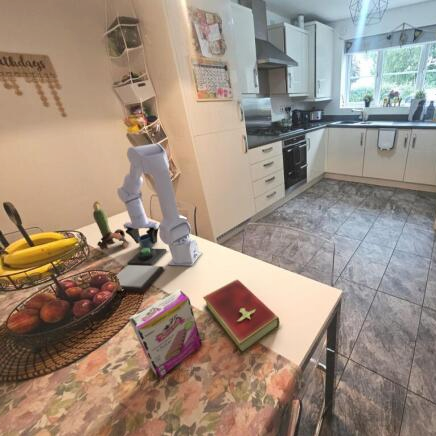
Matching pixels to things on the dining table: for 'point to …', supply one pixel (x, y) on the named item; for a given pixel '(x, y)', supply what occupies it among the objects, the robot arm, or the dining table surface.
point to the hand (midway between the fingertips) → (147, 242)
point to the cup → (145, 241)
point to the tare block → (147, 257)
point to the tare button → (145, 251)
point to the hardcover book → (241, 315)
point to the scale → (138, 277)
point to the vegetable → (101, 219)
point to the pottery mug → (109, 239)
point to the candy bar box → (167, 332)
